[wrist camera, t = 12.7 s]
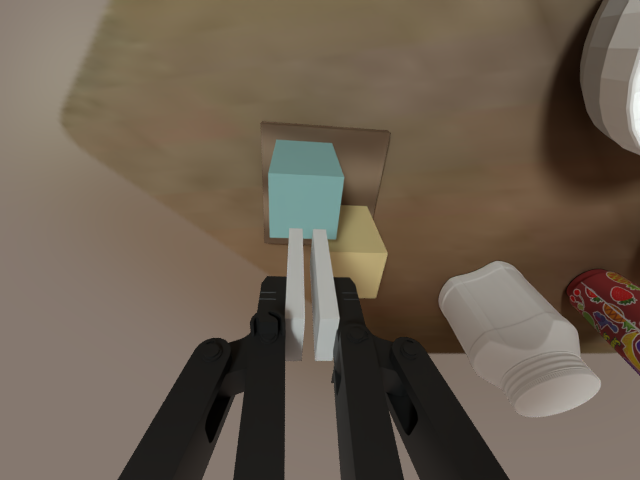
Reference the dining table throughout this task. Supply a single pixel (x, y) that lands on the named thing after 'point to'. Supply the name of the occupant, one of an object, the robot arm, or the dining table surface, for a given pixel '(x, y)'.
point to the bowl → (614, 72)
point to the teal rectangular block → (304, 188)
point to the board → (353, 155)
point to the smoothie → (610, 310)
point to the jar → (517, 340)
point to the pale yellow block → (358, 250)
